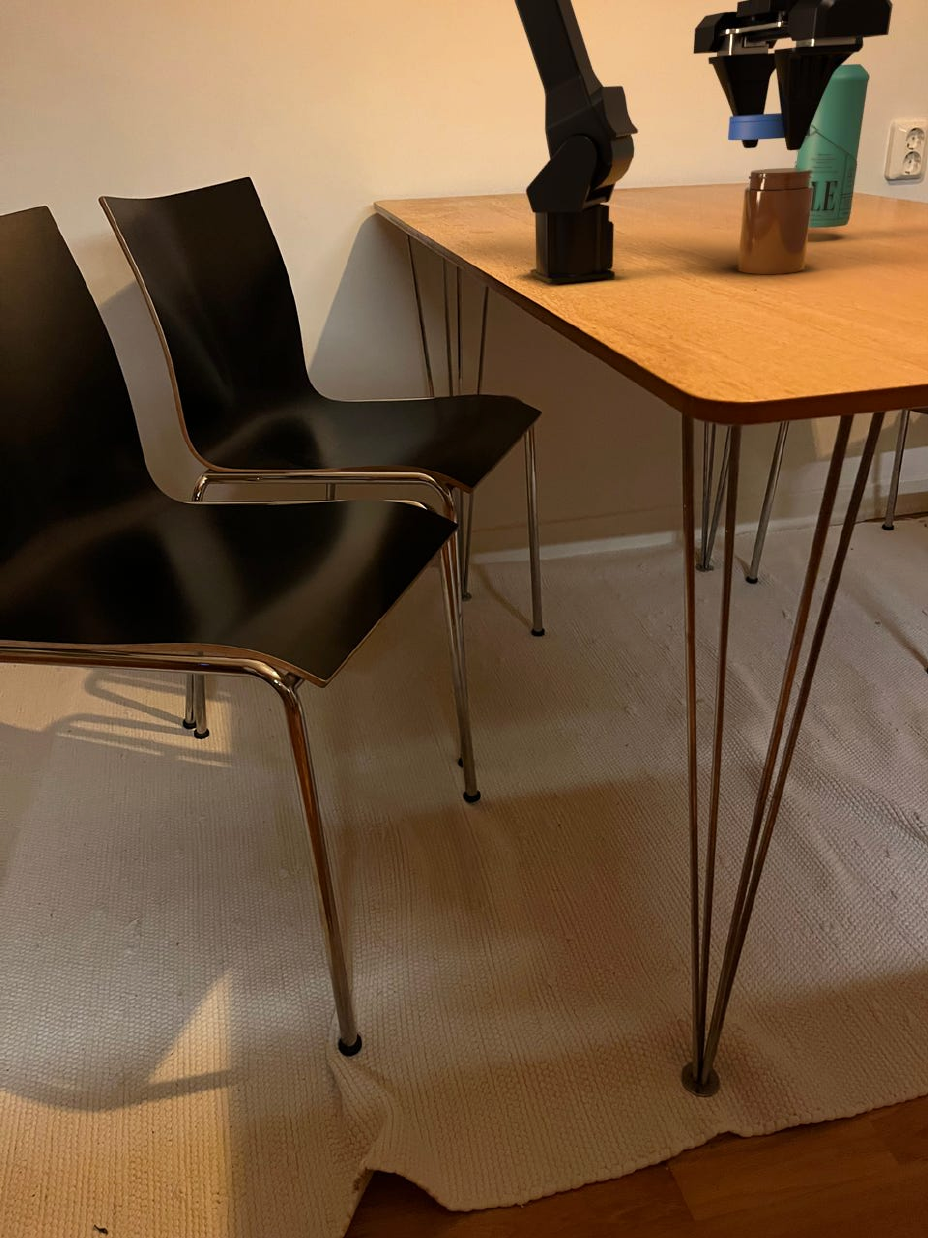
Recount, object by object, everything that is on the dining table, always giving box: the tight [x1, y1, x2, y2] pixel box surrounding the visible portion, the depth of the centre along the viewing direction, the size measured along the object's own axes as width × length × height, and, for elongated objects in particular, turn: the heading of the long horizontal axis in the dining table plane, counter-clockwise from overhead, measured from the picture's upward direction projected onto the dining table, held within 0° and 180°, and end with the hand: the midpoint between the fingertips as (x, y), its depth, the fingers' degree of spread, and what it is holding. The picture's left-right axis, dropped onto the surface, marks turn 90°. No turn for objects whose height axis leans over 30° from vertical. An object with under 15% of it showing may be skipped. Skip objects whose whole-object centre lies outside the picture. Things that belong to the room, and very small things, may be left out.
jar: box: [737, 167, 814, 275], centre depth 85 cm, size 6×6×8 cm
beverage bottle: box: [793, 37, 871, 229], centre depth 97 cm, size 6×7×20 cm
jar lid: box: [727, 112, 811, 141], centre depth 76 cm, size 6×6×2 cm
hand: (771, 148), depth 76 cm, fingers closed on jar lid, 6 cm apart
